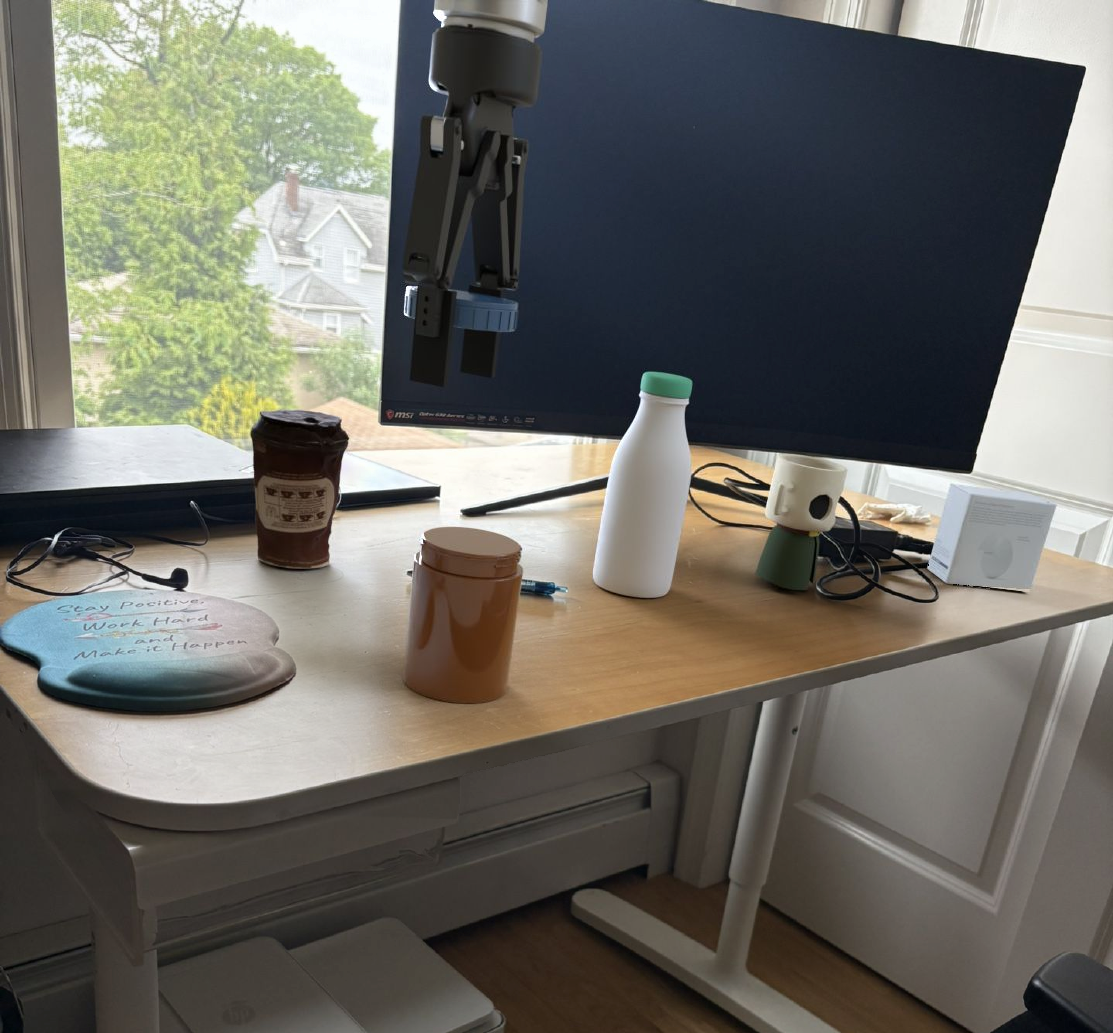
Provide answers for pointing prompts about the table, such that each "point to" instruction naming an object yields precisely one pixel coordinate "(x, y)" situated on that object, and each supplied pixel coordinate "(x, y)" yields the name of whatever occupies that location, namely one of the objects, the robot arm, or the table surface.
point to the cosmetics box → (990, 537)
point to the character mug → (799, 518)
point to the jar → (462, 614)
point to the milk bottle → (647, 493)
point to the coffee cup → (296, 485)
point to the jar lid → (474, 311)
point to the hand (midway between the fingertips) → (454, 378)
